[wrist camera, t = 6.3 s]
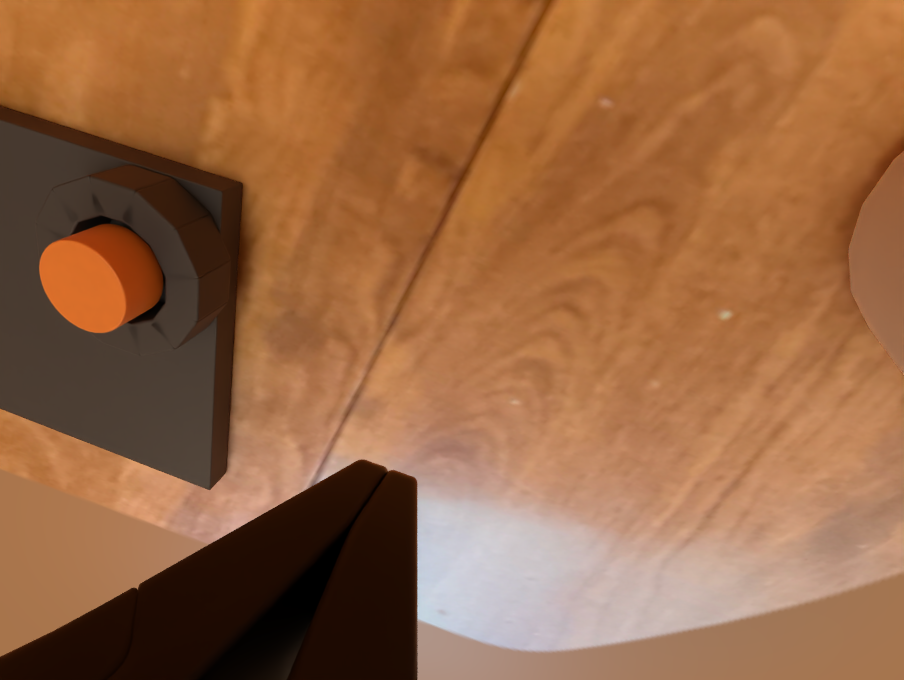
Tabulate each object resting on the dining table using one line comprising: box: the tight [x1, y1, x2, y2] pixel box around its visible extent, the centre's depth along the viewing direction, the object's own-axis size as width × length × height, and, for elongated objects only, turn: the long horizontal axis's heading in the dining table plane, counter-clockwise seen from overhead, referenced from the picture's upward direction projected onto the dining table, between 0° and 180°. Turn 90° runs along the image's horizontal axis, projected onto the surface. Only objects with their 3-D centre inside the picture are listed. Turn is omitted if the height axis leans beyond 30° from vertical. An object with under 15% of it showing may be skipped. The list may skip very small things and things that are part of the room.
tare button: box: [39, 224, 164, 333], centre depth 20 cm, size 3×3×2 cm
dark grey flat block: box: [0, 106, 242, 490], centre depth 23 cm, size 13×12×3 cm
